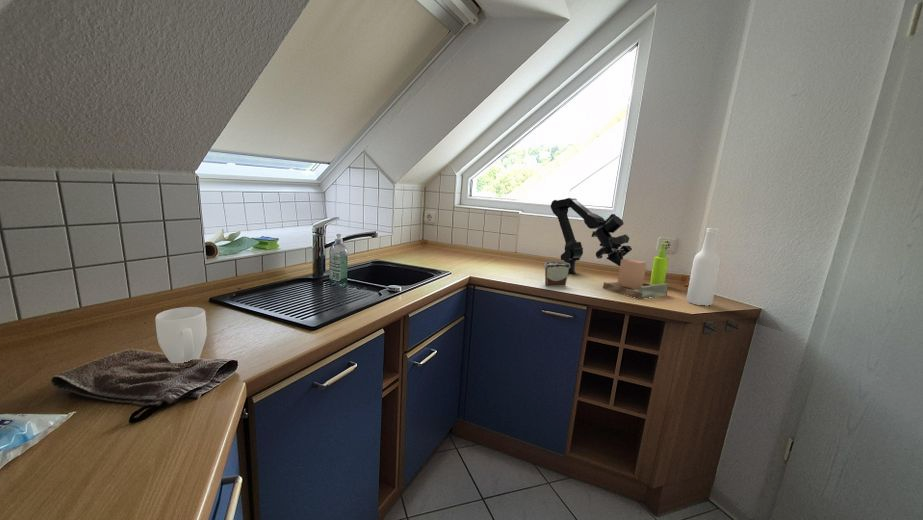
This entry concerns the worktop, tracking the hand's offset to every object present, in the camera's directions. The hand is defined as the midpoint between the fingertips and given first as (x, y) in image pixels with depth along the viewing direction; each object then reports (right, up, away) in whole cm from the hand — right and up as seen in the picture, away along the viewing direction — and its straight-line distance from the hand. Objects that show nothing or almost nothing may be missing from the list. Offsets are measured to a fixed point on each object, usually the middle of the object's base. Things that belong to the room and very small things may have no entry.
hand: (623, 267), depth 165 cm
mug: (-129, -19, -87) cm, 157 cm away
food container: (-31, -8, +1) cm, 32 cm away
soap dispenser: (+20, -9, +11) cm, 25 cm away
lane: (+3, -10, -4) cm, 11 cm away
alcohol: (+23, -14, -16) cm, 31 cm away
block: (+2, -8, -2) cm, 8 cm away
